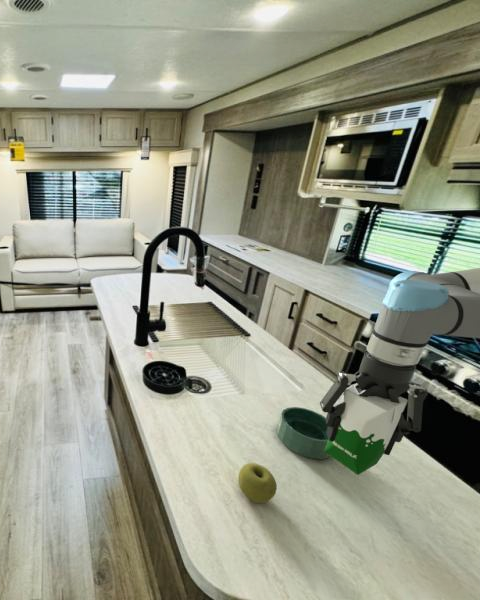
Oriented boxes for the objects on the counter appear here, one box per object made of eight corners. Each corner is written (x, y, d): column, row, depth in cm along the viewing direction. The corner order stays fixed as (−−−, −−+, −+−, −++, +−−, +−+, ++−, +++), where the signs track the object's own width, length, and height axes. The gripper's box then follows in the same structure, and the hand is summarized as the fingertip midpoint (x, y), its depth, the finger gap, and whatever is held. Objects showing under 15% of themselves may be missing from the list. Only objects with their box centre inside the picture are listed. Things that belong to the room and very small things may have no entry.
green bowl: (324, 431, 91) (330, 413, 89) (337, 466, 80) (345, 447, 77) (273, 419, 96) (278, 402, 93) (280, 451, 85) (285, 433, 82)
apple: (244, 510, 70) (250, 487, 67) (230, 478, 78) (235, 457, 75) (279, 511, 70) (286, 489, 67) (261, 479, 77) (267, 458, 74)
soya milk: (383, 465, 69) (417, 392, 62) (359, 480, 66) (392, 405, 59) (340, 438, 77) (366, 369, 70) (316, 450, 74) (341, 379, 66)
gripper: (328, 355, 63) (302, 441, 71) (480, 380, 54) (430, 473, 63) (319, 339, 69) (295, 419, 77) (454, 358, 61) (411, 445, 69)
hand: (356, 443), depth 70 cm, fingers closed on soya milk, 9 cm apart
